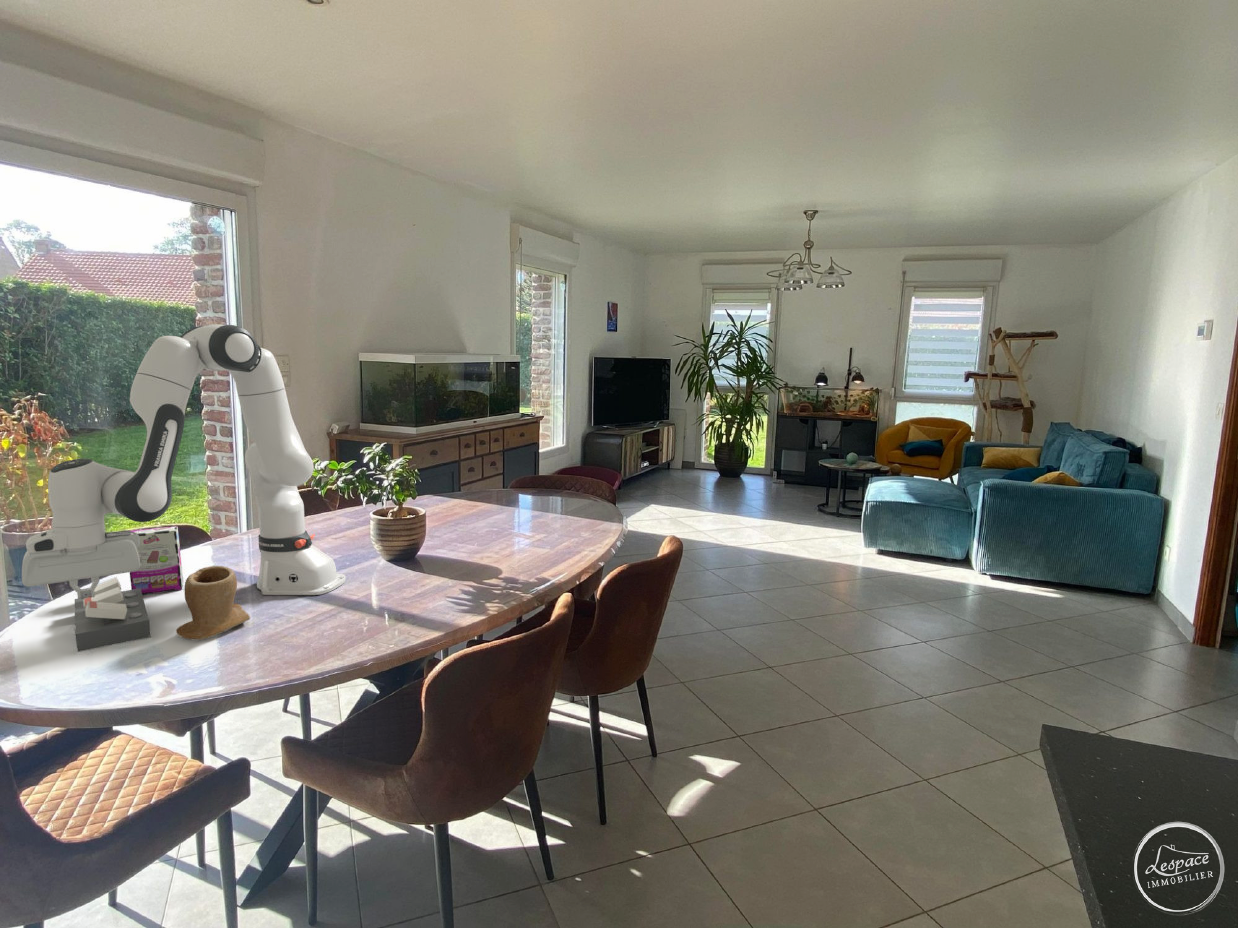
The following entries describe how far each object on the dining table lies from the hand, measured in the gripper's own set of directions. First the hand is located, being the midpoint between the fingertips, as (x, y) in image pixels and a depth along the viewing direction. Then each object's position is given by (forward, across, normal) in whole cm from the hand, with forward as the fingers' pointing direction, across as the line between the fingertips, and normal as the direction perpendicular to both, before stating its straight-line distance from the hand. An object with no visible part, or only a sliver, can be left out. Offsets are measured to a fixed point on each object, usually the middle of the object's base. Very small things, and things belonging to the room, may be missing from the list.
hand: (86, 597), depth 150 cm
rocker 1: (+4, -3, -15) cm, 16 cm away
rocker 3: (+4, -3, 0) cm, 5 cm away
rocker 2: (+4, -3, -8) cm, 9 cm away
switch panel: (+10, -4, -8) cm, 13 cm away
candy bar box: (+10, -15, -28) cm, 33 cm away
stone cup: (+10, -23, +9) cm, 27 cm away
